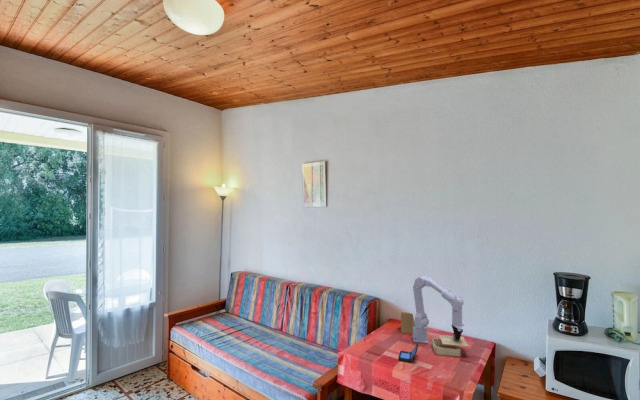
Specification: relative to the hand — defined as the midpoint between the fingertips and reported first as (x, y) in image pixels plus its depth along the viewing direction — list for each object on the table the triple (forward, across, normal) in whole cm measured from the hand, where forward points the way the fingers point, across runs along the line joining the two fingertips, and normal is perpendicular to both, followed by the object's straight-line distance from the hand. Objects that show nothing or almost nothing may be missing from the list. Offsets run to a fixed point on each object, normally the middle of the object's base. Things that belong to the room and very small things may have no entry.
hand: (457, 338), depth 201 cm
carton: (+8, 0, +7) cm, 11 cm away
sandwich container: (+9, +31, +28) cm, 42 cm away
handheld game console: (+9, -15, +31) cm, 35 cm away
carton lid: (+2, 0, +2) cm, 3 cm away
